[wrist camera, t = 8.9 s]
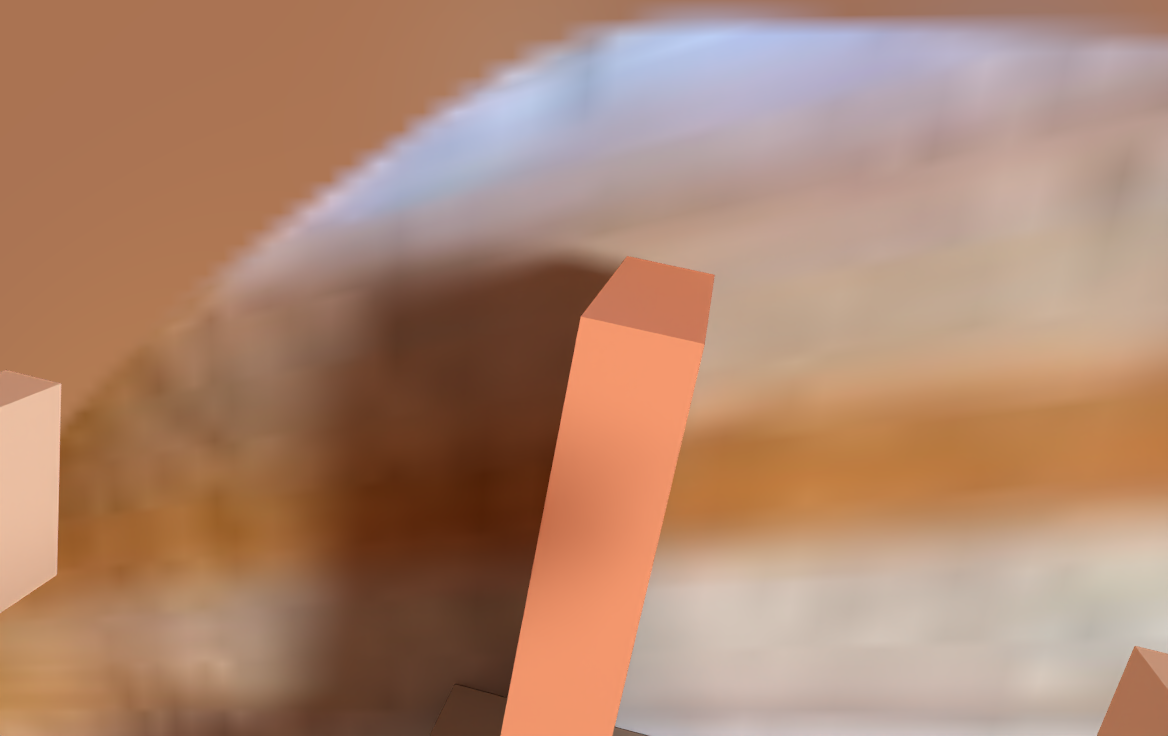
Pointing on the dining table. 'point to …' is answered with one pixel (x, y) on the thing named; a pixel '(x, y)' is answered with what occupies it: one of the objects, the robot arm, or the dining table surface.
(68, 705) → the dining table surface
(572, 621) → the orange rectangular block
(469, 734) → the gray rectangular block
